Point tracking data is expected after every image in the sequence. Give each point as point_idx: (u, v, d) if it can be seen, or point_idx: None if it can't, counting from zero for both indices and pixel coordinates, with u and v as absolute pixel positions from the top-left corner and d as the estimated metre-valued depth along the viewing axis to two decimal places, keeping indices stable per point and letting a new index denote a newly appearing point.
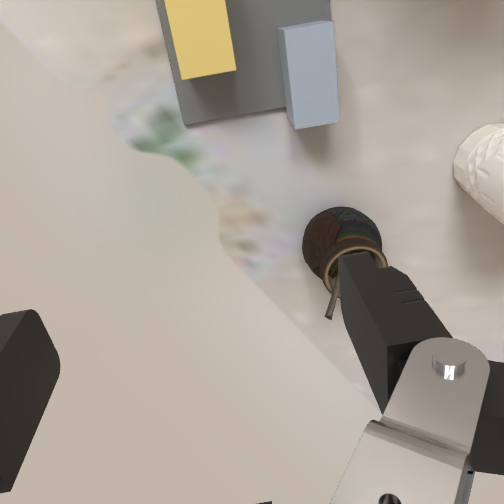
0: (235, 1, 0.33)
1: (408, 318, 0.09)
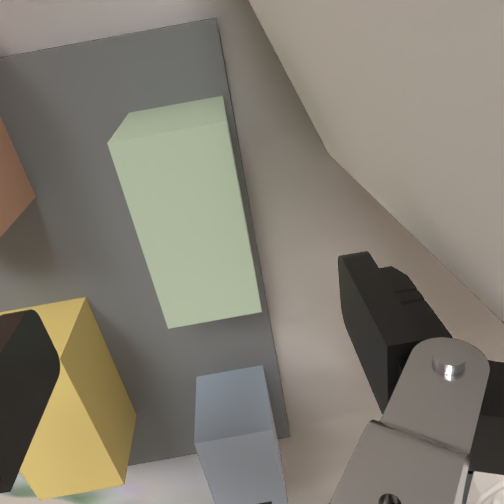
0: (128, 353, 0.22)
1: (408, 318, 0.09)
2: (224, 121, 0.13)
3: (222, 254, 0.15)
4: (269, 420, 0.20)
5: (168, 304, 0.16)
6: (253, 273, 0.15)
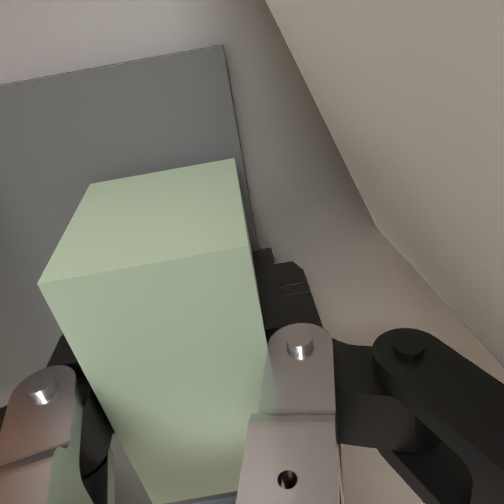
0: None
1: (282, 307, 0.09)
2: (245, 244, 0.07)
3: (237, 420, 0.10)
4: None
5: (153, 479, 0.10)
6: None
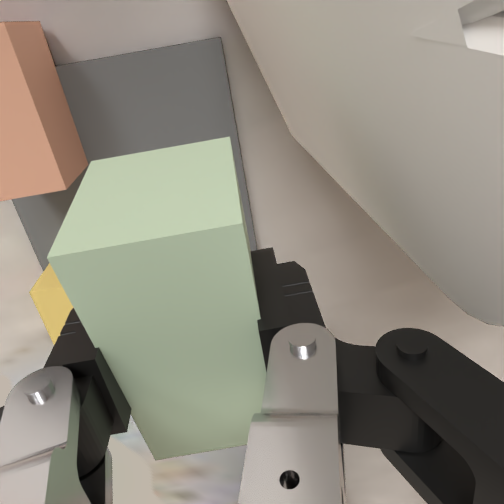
0: None
1: (285, 306, 0.09)
2: (239, 222, 0.08)
3: (231, 383, 0.10)
4: None
5: (155, 436, 0.11)
6: None
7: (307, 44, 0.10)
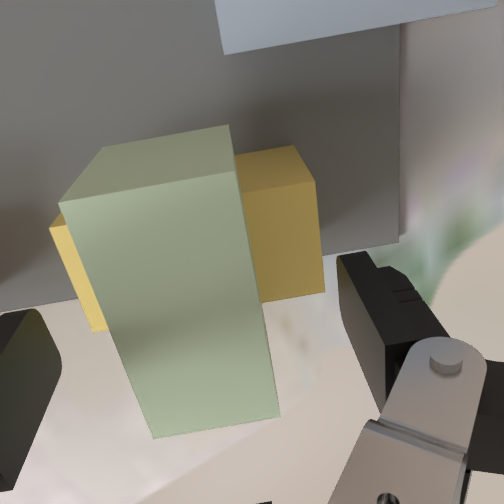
0: None
1: (406, 317, 0.09)
2: (231, 170, 0.09)
3: (228, 348, 0.11)
4: None
5: (153, 410, 0.12)
6: (270, 370, 0.11)
7: None
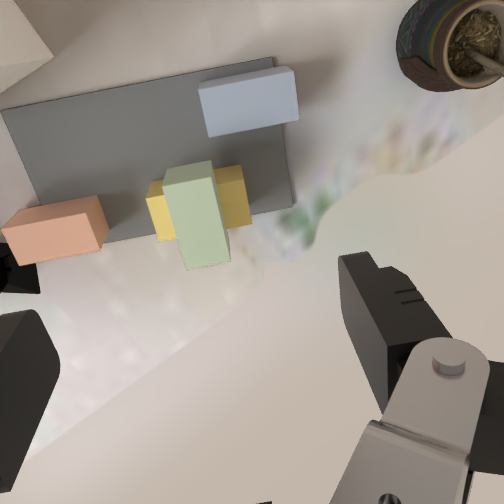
0: (190, 163, 0.39)
1: (408, 318, 0.09)
2: (210, 176, 0.31)
3: (211, 233, 0.33)
4: (198, 89, 0.32)
5: (186, 258, 0.34)
6: (225, 242, 0.33)
7: None
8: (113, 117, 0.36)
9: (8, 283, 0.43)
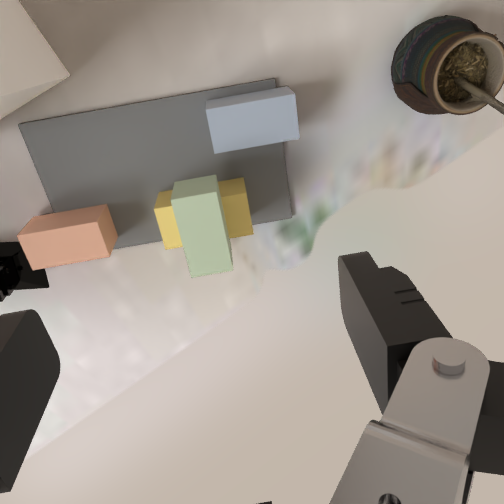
0: (195, 176, 0.41)
1: (408, 318, 0.09)
2: (215, 191, 0.33)
3: (215, 244, 0.35)
4: None
5: (191, 266, 0.36)
6: (228, 252, 0.36)
7: None
8: (124, 131, 0.38)
9: (20, 280, 0.45)
